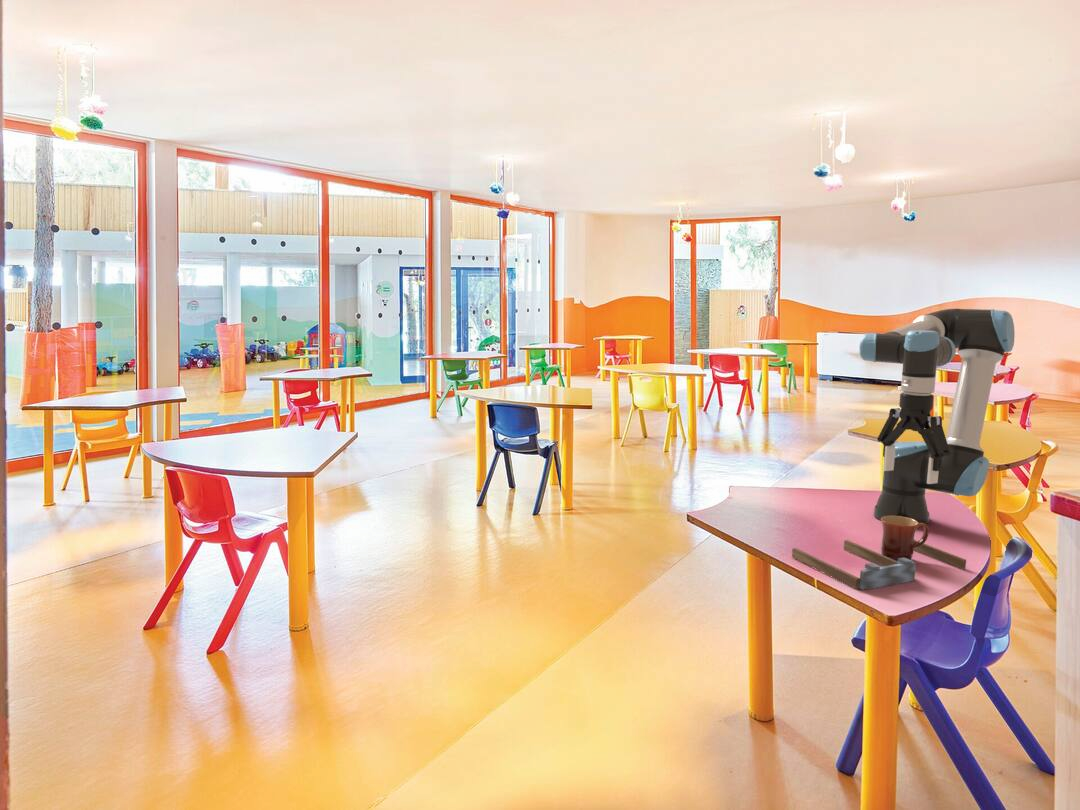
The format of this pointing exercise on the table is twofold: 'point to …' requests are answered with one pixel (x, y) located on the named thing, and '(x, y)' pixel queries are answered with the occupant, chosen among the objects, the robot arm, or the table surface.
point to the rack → (875, 574)
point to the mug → (900, 536)
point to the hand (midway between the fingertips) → (909, 476)
